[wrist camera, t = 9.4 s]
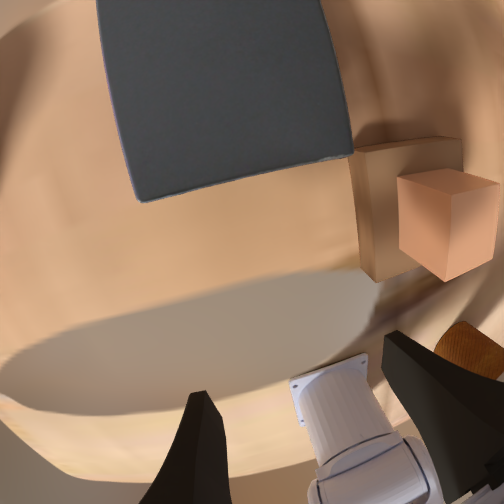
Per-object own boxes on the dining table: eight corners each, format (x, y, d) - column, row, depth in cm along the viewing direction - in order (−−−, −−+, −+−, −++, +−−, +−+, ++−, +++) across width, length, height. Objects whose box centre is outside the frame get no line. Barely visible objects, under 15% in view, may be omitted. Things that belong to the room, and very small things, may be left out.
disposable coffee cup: (484, 300, 26) (543, 354, 15) (462, 355, 30) (508, 408, 19) (434, 322, 25) (500, 394, 14) (414, 379, 29) (459, 446, 18)
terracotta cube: (447, 232, 18) (492, 258, 13) (398, 248, 18) (444, 282, 13) (447, 168, 16) (499, 183, 11) (396, 176, 16) (451, 195, 11)
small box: (141, 18, 12) (84, -72, 2) (243, -4, 12) (280, -108, 3) (175, 168, 16) (127, 213, 7) (280, 142, 17) (368, 156, 7)
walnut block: (439, 236, 22) (461, 248, 19) (357, 265, 21) (375, 283, 19) (435, 135, 18) (461, 139, 15) (343, 149, 18) (364, 153, 15)
